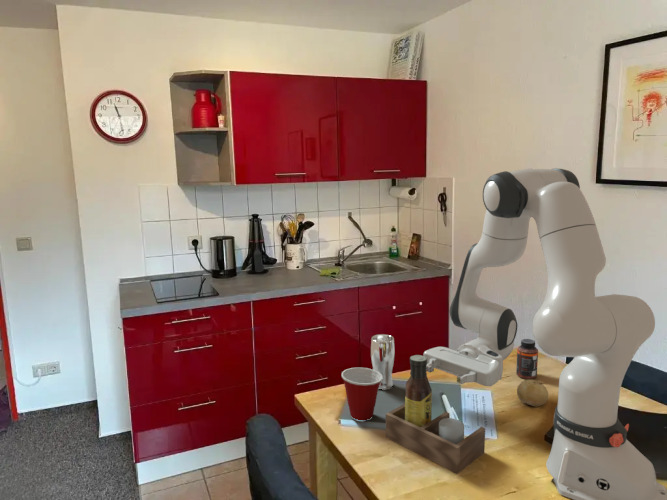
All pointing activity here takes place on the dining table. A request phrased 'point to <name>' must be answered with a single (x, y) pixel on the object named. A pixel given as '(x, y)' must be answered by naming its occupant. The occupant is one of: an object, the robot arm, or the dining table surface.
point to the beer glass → (383, 358)
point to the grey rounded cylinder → (451, 430)
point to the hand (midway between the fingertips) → (442, 374)
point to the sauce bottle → (418, 393)
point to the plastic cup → (361, 391)
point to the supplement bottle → (527, 359)
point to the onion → (532, 392)
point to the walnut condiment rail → (434, 441)
